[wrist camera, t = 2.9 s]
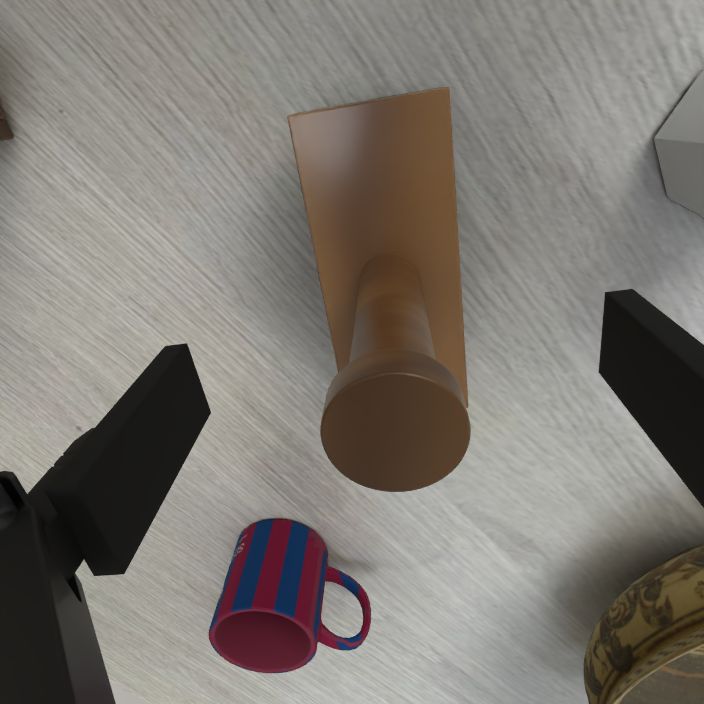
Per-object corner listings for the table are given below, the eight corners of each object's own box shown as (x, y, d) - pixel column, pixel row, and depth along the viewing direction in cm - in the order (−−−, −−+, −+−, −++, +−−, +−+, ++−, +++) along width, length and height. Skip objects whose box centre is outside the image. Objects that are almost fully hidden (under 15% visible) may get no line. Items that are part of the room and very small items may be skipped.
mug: (246, 508, 34) (217, 597, 28) (382, 542, 35) (382, 636, 29) (230, 568, 38) (201, 660, 32) (355, 599, 38) (351, 693, 32)
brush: (437, 86, 22) (524, 88, 8) (456, 363, 28) (522, 615, 15) (304, 110, 22) (185, 146, 9) (352, 374, 29) (325, 623, 15)
